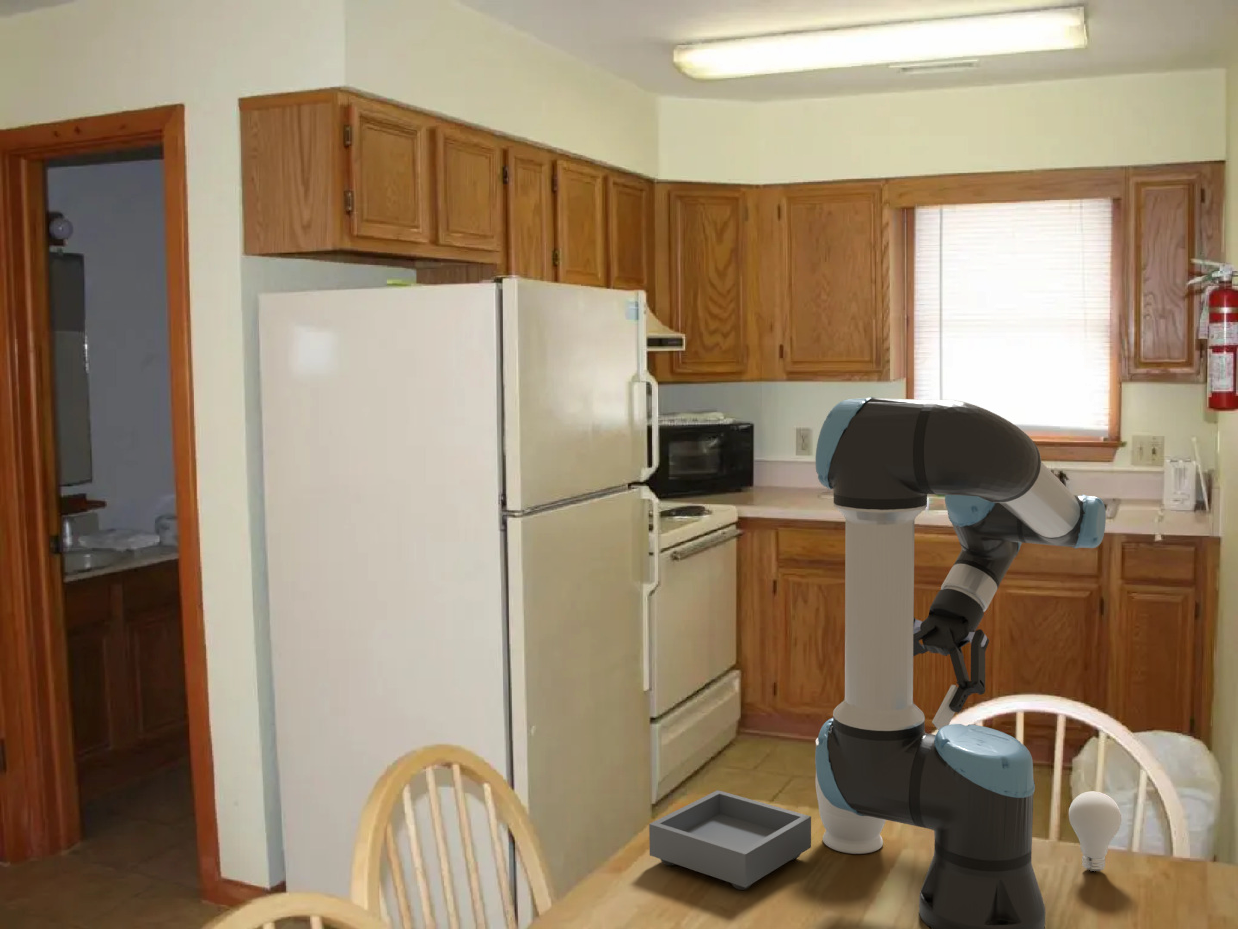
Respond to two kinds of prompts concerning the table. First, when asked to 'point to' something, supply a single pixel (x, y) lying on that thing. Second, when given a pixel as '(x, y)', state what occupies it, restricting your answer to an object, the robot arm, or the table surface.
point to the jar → (848, 827)
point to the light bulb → (1094, 826)
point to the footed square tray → (730, 838)
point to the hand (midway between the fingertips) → (899, 717)
